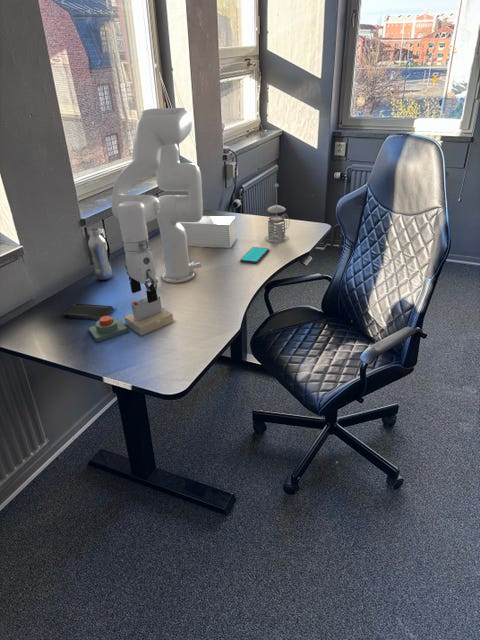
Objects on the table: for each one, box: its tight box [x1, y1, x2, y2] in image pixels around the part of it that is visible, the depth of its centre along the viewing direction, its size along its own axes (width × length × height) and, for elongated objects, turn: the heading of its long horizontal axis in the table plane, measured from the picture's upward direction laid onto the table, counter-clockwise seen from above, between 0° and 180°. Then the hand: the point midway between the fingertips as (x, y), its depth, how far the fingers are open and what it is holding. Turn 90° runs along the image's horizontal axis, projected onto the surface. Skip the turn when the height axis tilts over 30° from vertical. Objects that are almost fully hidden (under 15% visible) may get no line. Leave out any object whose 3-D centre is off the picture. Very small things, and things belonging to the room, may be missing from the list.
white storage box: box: [180, 215, 237, 249], centre depth 210 cm, size 32×11×11 cm, turn 76°
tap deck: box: [123, 306, 174, 337], centre depth 149 cm, size 13×13×3 cm
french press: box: [265, 183, 290, 244], centre depth 206 cm, size 10×12×25 cm
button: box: [100, 315, 113, 326], centre depth 144 cm, size 4×4×2 cm
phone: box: [63, 303, 114, 321], centre depth 157 cm, size 8×1×15 cm
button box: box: [87, 316, 128, 343], centre depth 146 cm, size 10×8×4 cm
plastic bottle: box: [87, 227, 113, 281], centre depth 178 cm, size 6×7×20 cm
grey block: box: [130, 294, 163, 321], centre depth 147 cm, size 9×3×6 cm, turn 131°
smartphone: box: [240, 246, 270, 264], centre depth 195 cm, size 7×1×15 cm
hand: (144, 296), depth 145 cm, fingers open, 9 cm apart
